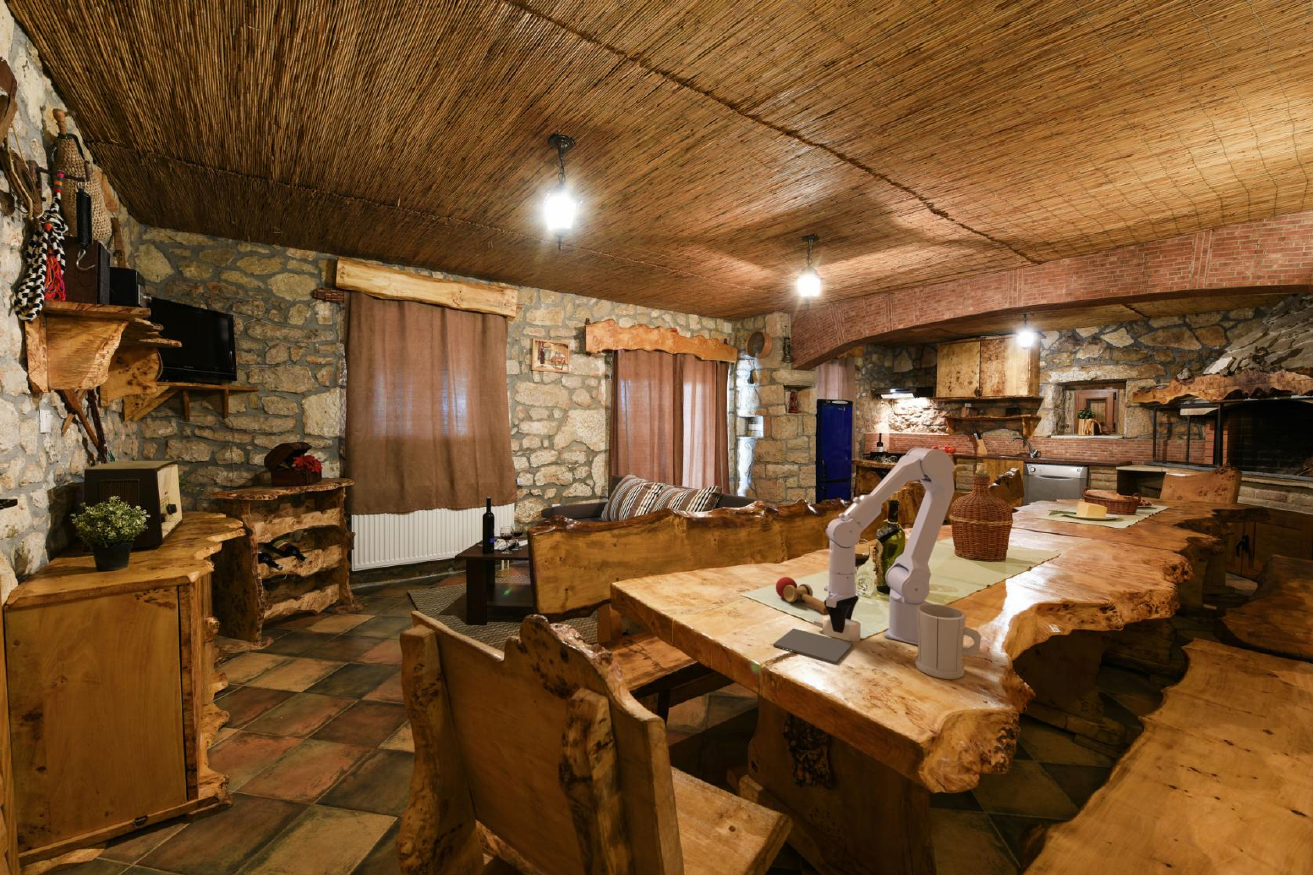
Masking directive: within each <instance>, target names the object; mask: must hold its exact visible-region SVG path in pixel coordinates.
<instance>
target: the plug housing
mask: <svg viewBox="0 0 1313 875" xmlns="http://www.w3.org/2000/svg"><path fill="white" fill-rule="evenodd" d="M861 625H862V624H861V622H859V621H856V620H852V619H851V620H849V619H846V620H845V627H844V631H843V633H838V632H834V631H833V628H832V624H831V619H830V616H829V615H823V616H822V619H819V618H815V619H814V620H813V625H812V626H814V627H820V628H822V634H823V635H824V636H826V637H830V638H832V637H833V638H834V639H838V640H842V641H846V642H850V643H855V642H857V643H859V642H860V641H861V631H862V630H861V629H862V628H861Z"/></svg>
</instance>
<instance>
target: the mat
mask: <svg viewBox="0 0 1313 875" xmlns="http://www.w3.org/2000/svg"><path fill="white" fill-rule="evenodd" d="M772 646H775V647H774V648H777V647H778V649H780V648H784V649H788V650H792V651H793V652H792V653H794V652H797V653H796V654H798V653H799V654H798V655H802V656H805V655H806V656H805V657H809V658H812V659H816V660H819V661H822V662H827V663H828V664H829V663H830V664H833V665H837V664H838V663H839V662H840V661H841V660H842V658H844V657H845V655H846V654H847V653H848V652H849V651H850V650H851V649H853V647H854V642H850V641H846V640H842V639H838V638H834V637H833V638H832V637H830V636H827V635H821V634H817V633H813V632H810V631H806V630H802V629H797V628H795V627H793V628H792V629H790V630H789V631H788V632H786V634H784V635H783V636H781V637H780V638H779V639H778V640H776V641H775V642H774V643H773V644H772ZM784 649H783V650H784Z"/></svg>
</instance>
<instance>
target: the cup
mask: <svg viewBox="0 0 1313 875" xmlns="http://www.w3.org/2000/svg"><path fill="white" fill-rule="evenodd" d="M916 612H917V628H918V645H917V655H916V656H915V658H914V659H915V661H914V662H915V663H914V664H915V666H916V668H917V669H918V670H920V671H921V672H922V673H923V674H925V673H926V675H928V676H931V677H933V678H937V679H940V680H941V679H942V680H943V679H944V680H957V679H959V678H961V677H963V676H964V675H965V665H964V664H963V656H970V657H973V656H976V655H977V654H978V653H979V652H980V648H981V641H982V640H981V639H982V635H981V633H980V632H979V630H976V629H973V628H971V627H968V626H966V618H967V616H966V615H967V614H966V613H965V612H963V611H962V610H960V609H958V608H957V607H953V606H950V605H945V604H940V603H938V604H937V603H933V604H922V605H918V606H917V607H916ZM964 636H967V637H970V638H971V639H972V641H973V644H972V645H971V646H969V647H964Z"/></svg>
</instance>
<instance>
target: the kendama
mask: <svg viewBox="0 0 1313 875" xmlns="http://www.w3.org/2000/svg"><path fill="white" fill-rule="evenodd" d="M775 591H776V594H777V595H778V596H779V597H780V598H782V599H785V600H786V602H789V603H793V602H795V601H796V600H797V599H799V600H800V601H801V602H803V603H807V604H808V605H809V606H811V607H813V608H814V609H815V610H817V611H819V612H820V613H821V614H822V615H823V616H826V615H829V613H828V611H827V609H826V607H825V605H824V600H820V599H818V598H816V597H814V594H813V593H814V592H813V589H812V587H811V585H809V584H807V583H802V584H800V585H799V586H798V583H797V582H796V581H795V579H793V578H792V577H788V576H784V577H781V578H779V579H778V580H777V582H776V583H775Z"/></svg>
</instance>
